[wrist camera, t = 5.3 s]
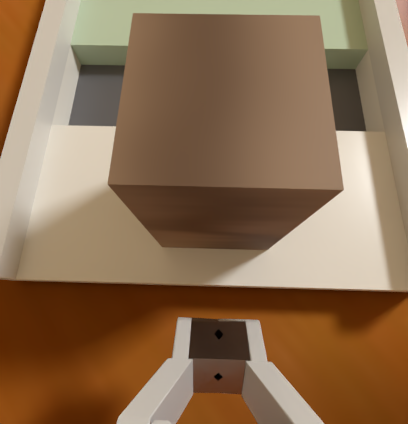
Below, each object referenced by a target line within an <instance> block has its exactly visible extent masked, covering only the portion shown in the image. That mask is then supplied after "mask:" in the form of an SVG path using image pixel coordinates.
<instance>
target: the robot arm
mask: <svg viewBox="0 0 408 424" xmlns="http://www.w3.org/2000/svg"><path fill="white" fill-rule="evenodd" d="M193 393H228V394H242V397H243V399H244V401H245V402H246V404H247V406H248V408H249V409H250V411H251V413H252V414H253V416H254V418H255V419H256V421H257V423H258V424H324V423H323V422H322V420H321V419H320V418H319V417H318V416H317V414H316V413H315V412H314V411H313V410H312V409H311V407H310V406H309V405H308V404H307V403H306V402H305V400H304V399H303V398H302V397H301V396H300V395H299V393H298V392H297V391H296V390H295V389H294V388H293V386H292V385H291V384H290V383H289V382H288V381H287V379H286V378H285V377H284V376H283V375H282V373H281V372H280V371H279V370H278V369H277V368H276V366H275V365H274V364H273V363H272V362H267V357H266V352H265V347H264V341H263V336H262V331H261V326H260V322H259V320H244V319H204V318H184V317H178V320H177V325H176V332H175V339H174V346H173V353H172V358H168V359H167V360H166V361H165V362H164V363H163V364H162V366H161V367H160V368H159V369H158V370H157V372H156V373H155V374H154V375H153V376H152V378H151V379H150V380H149V381H148V382H147V384H146V385H145V386H144V387H143V388H142V390H141V391H140V392H139V393H138V394H137V395H136V397H135V398H134V399H133V400H132V401H131V403H130V404H129V405H128V406H127V407H126V409H125V410H124V411H123V412H122V413H121V415H120V416H119V417H118V420H117V424H176V423H177V421H178V419H179V417H180V416H181V414H182V412H183V411H184V409H185V407H186V406H187V404H188V402H189V400H190V399H191V397H192V395H193Z"/></svg>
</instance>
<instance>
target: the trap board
mask: <svg viewBox="0 0 408 424" xmlns="http://www.w3.org/2000/svg"><path fill="white" fill-rule="evenodd" d="M133 13H163V14H240V15H317V16H320V20H321V27H322V34H323V42H324V49H325V56H326V63H327V71H328V78H329V85H330V92H331V100H332V107H333V114H334V121H335V129H336V136H337V143H338V150H339V158H340V165H341V172H342V179H343V187H344V190H343V191H342V192H341V193H339V194H338V195H337V196H336V197H334V198H333V199H332V200H330V201H329V202H328V203H327V204H325V205H324V206H323V207H322V208H320V209H319V210H318V211H316V212H315V213H314V214H313V215H311V216H310V217H309V218H308V219H306V220H305V221H304V222H302V223H301V224H300V225H299V226H297V227H296V228H295V229H294V230H292V231H291V232H290V233H288V234H287V235H286V236H285V237H283V238H282V239H281V240H280V241H278V242H277V243H276V244H274V245H273V246H272V247H271V248H269V249H268V250H243V249H206V248H169V247H161V245H160V244H159V243H158V242H157V241H156V240H155V238H154V237H153V236H152V235H151V234H150V233H149V232H148V230H147V229H146V228H145V227H144V226H143V225H142V224H141V222H140V221H139V220H138V219H137V218H136V217H135V215H134V214H133V213H132V212H131V211H130V210H129V209H128V207H127V206H126V205H125V204H124V203H123V202H122V201H121V199H120V198H119V197H118V196H117V195H116V194H115V192H114V191H113V190H112V189H111V188H110V187H109V186H108V177H109V170H110V164H111V157H112V150H113V144H114V137H115V130H116V123H117V117H118V110H119V103H120V96H121V90H122V83H123V76H124V70H125V63H126V56H127V49H128V43H129V36H130V29H131V23H132V16H133ZM0 279H2V280H13V281H46V282H79V283H113V284H147V285H181V286H215V287H248V288H282V289H316V290H350V291H384V292H408V47H407V43H406V39H405V35H404V31H403V28H402V24H401V20H400V16H399V12H398V8H397V4H396V1H395V0H46V2H45V5H44V8H43V12H42V15H41V19H40V22H39V26H38V29H37V33H36V36H35V40H34V43H33V47H32V50H31V54H30V57H29V61H28V64H27V67H26V71H25V74H24V78H23V81H22V85H21V88H20V92H19V95H18V99H17V102H16V106H15V109H14V113H13V116H12V120H11V123H10V127H9V130H8V133H7V137H6V140H5V144H4V147H3V151H2V154H1V158H0Z"/></svg>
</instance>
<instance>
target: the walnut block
mask: <svg viewBox="0 0 408 424" xmlns="http://www.w3.org/2000/svg"><path fill="white" fill-rule="evenodd" d="M108 186H109V187H110V188H111V189H112V190H113V191H114V192H115V194H116V195H117V196H118V197H119V198H120V199H121V201H122V202H123V203H124V204H125V205H126V206H127V207H128V209H129V210H130V211H131V212H132V213H133V214H134V215H135V217H136V218H137V219H138V220H139V221H140V222H141V224H142V225H143V226H144V227H145V228H146V229H147V230H148V232H149V233H150V234H151V235H152V236H153V237H154V238H155V240H156V241H157V242H158V243H159V244H160V245H161V247H169V248H206V249H243V250H268V249H269V248H271V247H272V246H273V245H274V244H276V243H277V242H278V241H280V240H281V239H282V238H283V237H285V236H286V235H287V234H288V233H290V232H291V231H292V230H294V229H295V228H296V227H297V226H299V225H300V224H301V223H302V222H304V221H305V220H306V219H308V218H309V217H310V216H311V215H313V214H314V213H315V212H316V211H318V210H319V209H320V208H322V207H323V206H324V205H325V204H327V203H328V202H329V201H330V200H332V199H333V198H334V197H336V196H337V195H338V194H339V193H341V192H342V191H343V190H344V187H343V179H342V172H341V165H340V158H339V150H338V143H337V136H336V129H335V121H334V114H333V107H332V100H331V92H330V85H329V78H328V71H327V63H326V56H325V49H324V42H323V34H322V27H321V20H320V16H317V15H240V14H163V13H133V16H132V23H131V29H130V36H129V43H128V49H127V56H126V63H125V70H124V76H123V83H122V90H121V96H120V103H119V110H118V117H117V123H116V130H115V137H114V144H113V150H112V157H111V164H110V170H109V177H108Z"/></svg>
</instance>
